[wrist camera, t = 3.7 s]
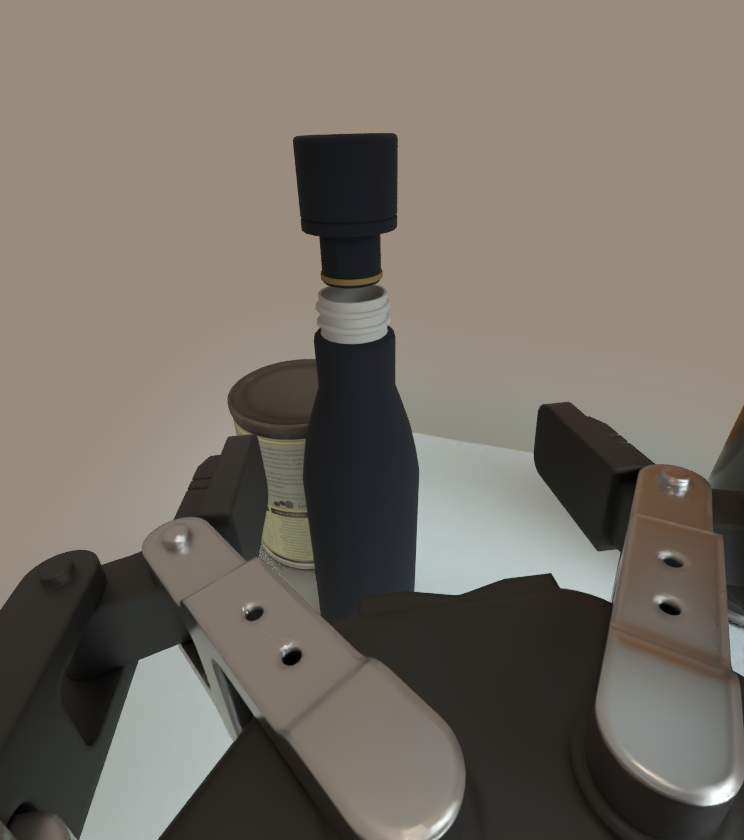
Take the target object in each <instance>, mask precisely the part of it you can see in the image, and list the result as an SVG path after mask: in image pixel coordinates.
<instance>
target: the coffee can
mask: <svg viewBox="0 0 744 840" xmlns="http://www.w3.org/2000/svg"><path fill="white" fill-rule="evenodd" d="M317 390H318V377H317V366H316V359H302V360H292V361H285V362H279V363H276V364H272V365H268V366H265V367H263V368H260V369H258V370H256V371H253V372H251V373H249V374H248V375H246V376H244V377H243V378H242V379H240V380H239V381H238V382H237V383H236V384H235V385H234V386H233V387H232V388H231V390H230V392H229V394H228V406H229V410H230V413H231V415H232V416H233V420H234V424H235V428H236V433H237V436H239V435H249V434H256V435H257V437H258V440H259V445H260V449H261V454H262V459H263V464H264V469H265V474H266V478H267V484H268V506H267V512H266V517H265V523H264V528H263V534H262V539H261V544H262V546H263V548H264V550H265V551H266V552H267V553H268V555H270V556H271V557H272V558H273V559H275V560H276V561H278V562H279V563H281V564H283V565H286V566H289V567H294V568H298V569H315V566H314V559H313V551H312V544H311V536H310V529H309V522H308V514H307V507H306V499H305V492H304V485H303V464H304V451H305V442H306V434H307V427H308V423H309V419H310V415H311V412H312V408H313V404H314V401H315V397H316V394H317Z"/></svg>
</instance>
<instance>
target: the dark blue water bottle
mask: <svg viewBox="0 0 744 840" xmlns="http://www.w3.org/2000/svg"><path fill="white" fill-rule="evenodd" d="M397 143H398V138H397V135H396V134H393V133H368V134H333V135H332V134H331V135H306V136H296V137H294V139H293V146H294V156H295V166H296V176H297V186H298V195H299V206H300V216H301V217H302V218H301V226H302V231H303V232H305V233H306V234H311V235H314V236H319V237H320V249H321V262H322V271H321V280H322V281H323V282H324V283H325V284H327V285H329V286H328V287H326V288H323V289H322V290H320V291H319V294H318V298H319V300H318V301H317V303H316V310H317V311H318V312H319V313H320V316H319V317H318V318H317V325H318V326H319V327H320V328H319V329H318V331H317V332H316V333H315V336H314V346H315V356H316V366H317V377H318V390H317V394H316V397H315V401H314V404H313V408H312V412H311V415H310V419H309V423H308V427H307V434H306V442H305V451H304V464H303V485H304V492H305V499H306V507H307V514H308V522H309V529H310V536H311V544H312V551H313V559H314V566H315V573H316V581H317V588H318V596H319V603H320V610H321V617H322V618H324V619H325V620H326V621H327V622H328V623H329V624H330V625H331V626H332V625H334V624H336V623H337V622H339V621H341V620H343V619H345V618H347V617H349V616H351V615H354V614H357V613H358V604H357V597H363V596H371V595H379V594H387V593H395V592H403V591H408V592H414V586H415V561H416V536H417V512H418V487H419V466H418V460H417V454H416V448H415V444H414V439H413V435H412V430H411V426H410V423H409V420H408V417H407V414H406V411H405V409H404V406H403V403H402V400H401V398H400V395H399V393H398V390H397V387H396V385H395V334H394V331H393V329H392V328H391V327H390V326H388V324H389V323H390V320H391V318H390V315H389V314H388V313H387V310H388V309H389V307H390V305H391V304H390V300H389V299H388V298H387V291H386V289H385V288H383V287H382V286H379V285H376V283H378V282H379V281H380V279H381V278H382V275H383V274H382V269H381V254H380V234H383V233H387V232H390V231H393V230H394V229H395V228H396V227H397V215H396V214H397V147H398V145H397Z"/></svg>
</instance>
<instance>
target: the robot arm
mask: <svg viewBox="0 0 744 840" xmlns="http://www.w3.org/2000/svg"><path fill="white" fill-rule="evenodd" d="M534 462H535V466H536V469H537V471H538V473H539V475H540V476H541V477H542V479H543V480H544V481H545V483H546V484H547V485H548V487H549V488H550V489H551V491H552V492H553V493H554V495H555V496H556V497H557V498H558V500H559V501H560V502H561V504H562V505H563V506H564V508H565V509H566V510H567V512H568V513H569V514H570V516H571V517H572V518H573V520H574V521H575V522H576V523H577V525H578V526H579V527H580V529H581V530H582V531H583V533H584V534H585V535H586V537H587V538H588V539H589V541H590V542H591V543H592V545H593V546H594V547H595V548H596V550H597V551H605V550H613V549H619V551H620V552H621V553H620V558H619V562H618V567H617V572H616V577H615V582H614V586H613V591H612V596H611V601H610V602H608V601H606V600H604V599H602V598H599V597H596V596H593V595H591V594H587V593H583V592H579V591H575V590H569V589H562V588H560V587H559V586H558V584H557V582H556V581H555V579H554V577H553V576H552V574H551V573H549V574H541V575H533V576H525V577H517V578H509V579H503V580H500V581H497V582H495V583H492V584H489V585H486V586H484V587H481V588H478V589H475V590H473V591H470V592H467V593H464V594H461V595H445V594H433V593H421V592H408V591H403V592H395V593H387V594H379V595H371V596H363V597H357V604H358V613H357V614H354V615H351V616H349V617H347V618H345V619H343V620H341V621H339V622H337V623H336V624H334V625H332V626H331V625H330V624H329V623H328V622H327V621H326V620H325V619H324V618H322V617H321V616H320V615H319V614H318V613H317V612H316V611H315V610H314V609H313V608H312V607H311V606H310V605H309V604H308V603H307V602H306V601H305V600H304V599H303V598H302V597H301V596H300V595H299V594H298V593H297V592H296V591H295V590H293V589H292V588H291V587H290V586H289V585H288V584H287V583H286V582H285V581H284V580H283V579H282V578H281V577H280V576H279V575H278V574H277V573H276V572H275V571H274V570H273V569H272V568H271V567H270V566H269V565H268V564H267V563H266V562H264V561H263V560H262V559H261V558H260V557H258V556H259V550H260V545H261V539H262V534H263V528H264V523H265V517H266V512H267V506H268V484H267V478H266V474H265V469H264V464H263V459H262V454H261V449H260V445H259V440H258V437H257V435H256V434H249V435H239V436H230V437H228V438H227V440H226V443H225V445H224V448H223V450H222V453H221V455H215V456H210V457H209V458H207V459H206V460H205V461H204V462H203V463H202V464H201V465H200V466H198V468H197V470H196V472H195V474H194V477H193V481H191V483H190V485H189V487H188V491H187V492H186V494H185V496H184V498H183V501H182V503H181V505H180V507H179V509H178V511H177V513H176V516H175V518H174V520H173V521H170V522H168V523H165V524H163V525H161V526H160V527H158V528H157V529H155V530H154V531H153V532H151V533H150V534H149V535H148V536H147V538H146V539H145V541H144V542H143V545H142V551H141V552H139V553H136V554H134V555H131V556H128V557H125V558H122V559H119V560H116V561H113V562H110V563H107V564H104V565H101V564H100V561H99V559H98V557H97V555H96V554H94V553H93V552H90V551H87V550H75V551H70V552H65V553H62V554H59V555H56V556H54V557H52V558H50V559H48V560H46V561H44V562H42V563H41V564H39V565H38V566H36V567H35V568H34V569H32V570H31V571H30V572H29V573H28V574H27V575H25V577H24V578H23V579H22V580H21V582H20V583H19V584H18V586H17V587H16V589H15V590H14V591H13V593H12V594H11V596H10V597H9V599H8V600H7V601H6V603H5V604H4V606H3V607H2V609H1V610H0V840H79V839H80V836H81V833H82V829H83V826H84V823H85V820H86V817H87V814H88V811H89V808H90V805H91V802H92V799H93V796H94V793H95V790H96V787H97V784H98V781H99V778H100V775H101V772H102V769H103V766H104V763H105V760H106V757H107V754H108V751H109V748H110V745H111V742H112V739H113V736H114V733H115V730H116V727H117V724H118V721H119V718H120V715H121V712H122V709H123V706H124V703H125V700H126V697H127V694H128V691H129V688H130V685H131V682H132V679H133V676H134V672H135V669H136V666H137V663H138V660H140V659H142V658H145V657H147V656H150V655H152V654H155V653H157V652H160V651H162V650H165V649H167V648H170V647H172V646H175V645H177V644H178V646H179V648H180V650H181V651H182V653H183V654H184V656H185V658H186V659H187V661H188V662H189V664H190V666H191V667H192V669H193V670H194V672H195V674H196V675H197V677H198V678H199V680H200V682H201V683H202V685H203V687H204V688H205V690H206V691H207V693H208V695H209V696H210V698H211V699H212V701H213V703H214V704H215V706H216V708H217V710H218V712H219V714H220V716H221V718H222V720H223V723H224V725H225V727H226V729H227V731H228V733H229V734H230V736H231V738H232V740H233V744H232V745H231V746H230V747H229V749H228V750H227V751H226V753H225V754H224V755H223V756H222V758H221V759H220V760H219V762H218V763H217V764H216V765H215V767H214V768H213V769H212V771H211V772H210V773H209V774H208V776H207V777H206V778H205V780H204V781H203V782H202V783H201V785H200V786H199V787H198V789H197V790H196V791H195V792H194V794H193V795H192V796H191V798H190V799H189V800H188V801H187V803H186V804H185V805H184V807H183V808H182V809H181V810H180V812H179V813H178V814H177V816H176V817H175V818H174V819H173V821H172V822H171V823H170V825H169V826H168V827H167V828H166V830H165V831H164V832H163V834H162V835H161V836H160V837H159V839H158V840H744V677H743V676H742V675H740V674H738V673H736V672H734V671H733V670H732V666H731V656H730V640H729V623H728V620H729V621H731V622H733V623H735V624H738V625H740V626H742V627H744V406H743V408H742V410H741V412H740V414H739V416H738V418H737V421H736V422H735V425H734V427H733V429H732V431H731V433H730V435H729V437H728V439H727V441H726V443H725V446H724V448H723V450H722V452H721V454H720V456H719V458H718V460H717V462H716V464H715V467H714V469H713V471H712V473H711V475H710V477H709V479H708V481H707V480H706V479H705V478H703V477H702V476H700V475H699V474H697V473H695V472H693V471H690V470H688V469H685V468H682V467H677V466H673V465H664V464H655V463H653V462H652V461H651V460H650V459H648V458H647V457H646V456H645V455H644V454H642V453H641V452H640V451H639V450H637V449H636V448H635V447H634V446H633V445H631V444H630V443H627V440H625V439H624V438H623V437H622V436H621V435H619V436H618V433H617V432H616V431H614V430H613V429H612V428H611V427H610V426H608V425H607V424H605V423H603V422H601V421H599V420H596V419H594V418H591V417H587V416H585V415H584V414H583V413H582V412H581V411H580V410H579V409H577V408H576V407H575V406H574V405H573V404H572V403H570V402H562V403H553V404H543V405H541V406H540V408H539V410H538V417H537V426H536V436H535V445H534Z"/></svg>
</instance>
